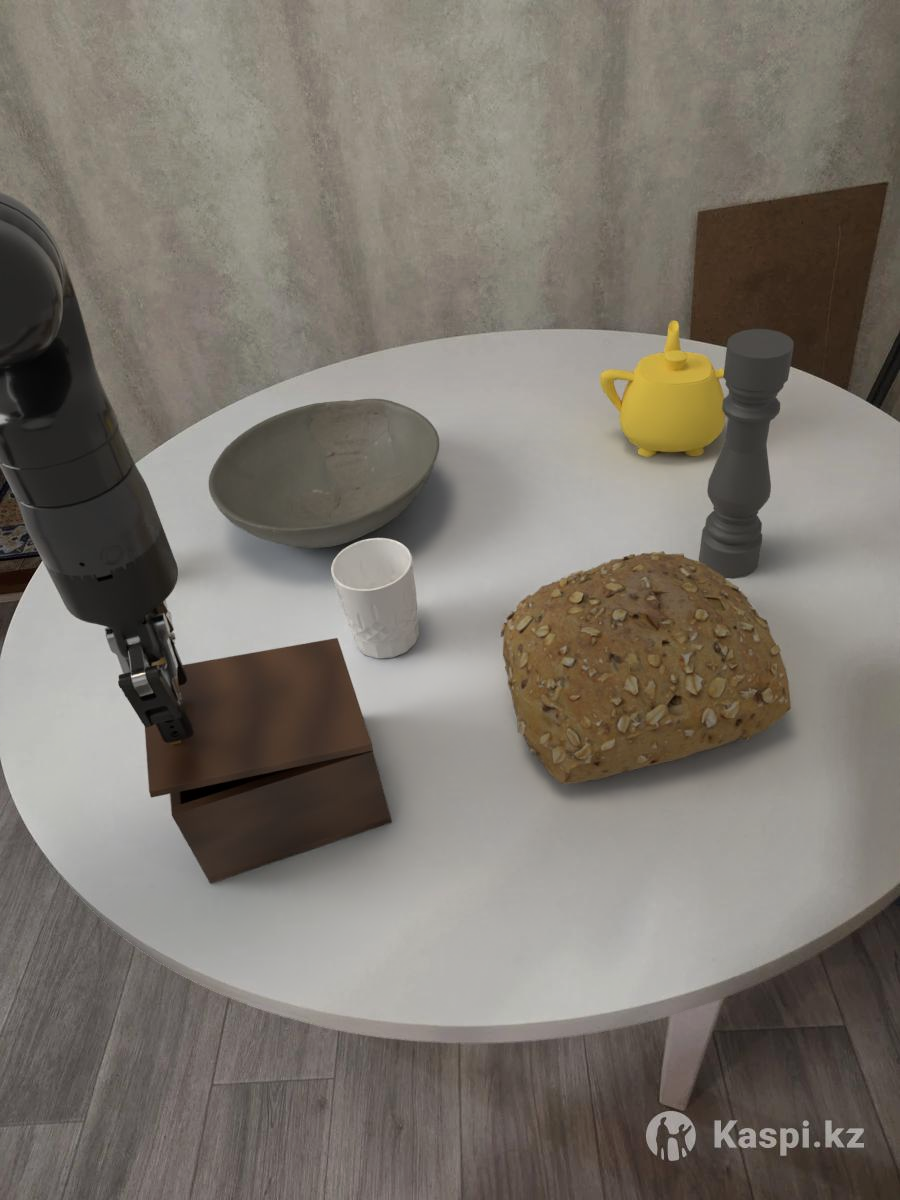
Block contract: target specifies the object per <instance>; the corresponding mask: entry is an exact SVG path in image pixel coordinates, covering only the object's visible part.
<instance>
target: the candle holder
mask: <svg viewBox="0 0 900 1200" xmlns="http://www.w3.org/2000/svg"><path fill="white" fill-rule="evenodd" d="M794 343H795V341H794V340H793V339H792V338H791V337H790V336H789V335H788V334H785V333H783V332H781V331H778V330H773V329H768V328H767V329H766V328H751V329H744V330H741V331H739V332H736V333H733V334H732V335H731V336H730V337H729V338H728V339H727V343H726V351H725V360H724V375H723V377H724V378H723V379H724V380H725V386H726V388H727V390H728V394H729V395H728V394H727V395H726V397H724V400H723V405H722V411H723V412H724V414H725V417H727V425H726V431H725V439H724V442H723V444H722V447H721V449H720V451H719V455H718V456H717V459H716V462H715V464H714V466H713V469H712V471H711V474H710V475H709V478H708V481H707V482H708V483H707V490H706V493H707V496H708V499H709V500H710V502H711V504H712V506H713V509H712V511H711V512H710V513H709V515H708V516H706V518H705V524H704V527H703V528H702V531H701V538H700V546H699V555H698V561H699V562H701V563H703V564H705V565H707V566H708V567H709V568H711V569H713V570H714V571H716V572H717V573H719V574H721V575H723V576H724V578H725V579H736V578H738V579H739V578H743V577H746V576H748V575H750V574H753V573H754V571H755V570H757V568H758V566H759V561H760V555H761V549H762V544H763V533H762V530H763V529H762V528H763V523H762V521H761V519H760V517H759V516H758V514H759V511H760V510H761V509H762V508H763V507H764V505H766V504H767V502H768V501H769V499H770V497H771V492H772V491H771V489H772V482H771V473H770V465H769V463H770V462H769V455H768V454H769V453H768V446H767V445H768V444H767V443H768V437H769V431H770V424H771V421H772V420H775V418H776V417H777V416H778V415H779V414H780V411H781V401H780V400H779V399H778V398H777V396H778V394H779V393H780V392H781V391H782V390H783V388H784V385H785V384H786V383H787V382H788V381H789V376H790V370H791V364H792V359H793V354H794Z"/></svg>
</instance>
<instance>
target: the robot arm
mask: <svg viewBox="0 0 900 1200" xmlns="http://www.w3.org/2000/svg"><path fill="white" fill-rule="evenodd" d="M71 277H72V276H71V274H70V272H69V269H68V266H67V263H66V261H65V257H64V255H63V252H62V250H61V247H60V246H59V244H58V241H57V239H56V238H55V237H54V234H53V233H52V231H51V230H50V228H49V227H48V225H47V224H46V223H45V222H44V221H43V220H42V218H41V217H40V216H39V215H38V214H37V213H36V212H34V211H33V209H31V208H30V207H29V206H27V205H26V204H25V203H23V202H22V201H20V200H19V199H17V198H15V197H13V196H11V195H9V194H7V193H5V192H2V191H0V470H1V472H2V474H3V475H4V477H5V480H6V481H7V483H8V485H9V487H10V489H11V492H12V494H13V495H14V498H15V500H16V502H17V505H18V507H19V511H20V514H21V518H22V521H23V523H24V526H25V529H26V531H27V534H28V535H29V537H30V539H31V541H32V543H33V545H34V547H35V549H36V551H37V552H38V554H39V557H40V559H41V561H42V563H43V565H44V567H45V569H46V570H47V574H49V576H50V578H51V580H52V583H53V585H54V587H55V588H56V590H57V592H58V594H59V596H60V598H61V600H62V602H63V604H64V606H65V608H66V610H67V611H68V612H69V614H71V615H72V616H73V617H75V618H76V619H78V620H80V621H82V622H85V623H89V624H93V625H99V626H103V627H105V628H104V633H105V638H106V641H107V643H108V646H109V650H110V651H111V652H112V653H113V654H115V655H116V657H117V659H118V660H117V661H118V663H119V665H120V668H121V671H122V673H121V674H119V675H118V681H117V684H118V687H119V689H120V690H121V691H122V693H123V694H124V696H125V697H126V699H127V701H128V702H129V704H130V706H131V707H132V709H133V710H134V712H135V714H136V715H137V717H138V718H139V720H140V722H141V724H142V725H143V726H144V728H145V727H150V726H153V725H155V724H156V726H157V728H158V730H159V732H160V734H161V736H162V739H163V741H164V742H166V743H172V742H175V741H179V740H182V739H186V738H189V737H191V736H192V735H193V725H192V723H191V720H190V718H189V716H188V713H187V711H186V709H185V706H184V704H183V702H182V700H183V698H182V694H181V693H179V690H178V687H177V684H176V681H175V677H176V675H178V684H179V686H180V685H183V684H185V683H186V682H187V676H186V672H185V669H184V667H183V665H184V664H183V662H182V660H181V658H180V655H179V653H178V650H177V648H176V640H177V638H176V634H175V632H174V630H175V629H174V623H173V617H172V614H171V611H169V609H168V604H167V601H166V600H167V599H168V598H169V596H170V595H171V594H172V592H173V591H174V589H175V587H176V586H177V582H178V579H179V567H178V564H177V562H176V559H175V556H174V553H173V550H172V548H171V546H170V542H169V540H168V537H167V535H166V533H165V529H164V526H163V524H162V521H161V519H160V516H159V514H158V510H157V508H156V506H155V503H154V500H153V498H152V495H151V492H150V490H149V487H148V485H147V483H146V481H145V479H144V476H142V474H141V472H140V470H139V469H138V467H137V464H136V463H135V460H134V459H133V458H134V457H132V454H131V451H130V449H129V446H128V443H127V441H126V438H125V435H124V433H123V430H122V427H121V425H120V422H119V419H118V416H117V414H116V412H115V410H114V408H113V405H112V402H111V401H110V399H109V396H108V395H107V392H106V390H105V388H104V385H103V383H102V381H101V377H100V376H99V373H98V370H97V368H96V363H95V359H94V356H93V352H92V347H91V344H90V340H89V336H88V333H87V327H86V325H85V321H84V318H83V314H82V310H81V307H80V303H79V300H78V297H77V293H76V291H75V287H74V284H73V281H72V278H71ZM162 657H165V660H166V662H165V663H164V664H161V665H154V666H152V663H153V662H157V661H159V660H160V659H161V658H162Z"/></svg>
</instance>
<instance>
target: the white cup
mask: <svg viewBox="0 0 900 1200" xmlns="http://www.w3.org/2000/svg"><path fill="white" fill-rule="evenodd" d="M330 570H331V571H330V572H331V576H332V580H333V582H334V586H335V589H336V591H337V595H338V598H339V601H340V603H341V607H342V610H343V613H344V616H345V619H346V621H347V623H348V626H349V628H350V629H351V630H350V631H351V632H352V635H353V639H354V641H355V645H356V648H357V649H358V650H359V651H360V652H362V653H363V655H365V656H367V657H371V658H375V659H378V660H382V659H392V658H395V657H398V656H401V655H403V654H406V653H407V652H408V651H409V650H410V649H412V648H413V646H414V645H415V644H416V643H417V640H418V639H419V634H420V625H419V619H418V617H419V616H418V610H419V609H418V601H417V600H418V599H417V587H416V580H415V571H414V564H413V556H412V552H411V551H410V549H409V548H408V547H407V546H406V544H405V545H404V543H402V542H400V541H398V540H395V539H392V538H387V537H386V538H385V537H373V538H366V539H362V540H358V541H356V542H353V543H352V544H350V545H348V546H346V547H344V548H343V549H341V551H339V552H338V553H337V555H336V556H335V558H334V559H333V561H332V563H331V566H330Z"/></svg>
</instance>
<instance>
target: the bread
mask: <svg viewBox="0 0 900 1200" xmlns="http://www.w3.org/2000/svg"><path fill="white" fill-rule="evenodd" d="M506 621H507V622H503V624H502V627H501V630H500V638H502V637H503V639H502V642H503V643H502V656H503V660H504V663H505V664H504V665H505V666H504V669H505V671H506V674H507V687H508V689H509V691H510V693H511V698H512V705H513V708H514V712H515V715H516V718H517V722H518V723H517V733H518V734H522V736H523V737H524V739H525V741H526V742H527V744H528V746H529V752H530V754H532V755H536V756H537V758H538V760H539V761H540V762H541V763H542V764H543V766H544V768H545V769H546V770H547V771H548V773H549V774H550V775H551V776H553V778H555V780H557V782H558V783H559V784H579V783H584V782H586V781H589V780H591V781H593V780H601V779H604V778H608V777H610V776H615V775H619V774H622V773H625V772H629V771H630V772H631V771H634V770H639V769H642V768H646V767H651V766H654V765H659V764H663V763H667V762H672V761H677V760H680V759H683V758H686V757H688V756H691V755H694V754H696V753H700V752H704V751H707V750H710V749H715V748H718V747H721V746H725V745H727V744H728V743H731V742H733V741H740V740H741V739H744V740H745V741H747V740H749V739H750V738H751V737H752V736H753V735H756V734H758V733H761V732H763V731H765V730H767V729H769V728H770V727H771V726H773V725H775V724H776V723H777V722H779V721H780V720H781V719H782V718H783V717H785V715H786V714H787V713H788V712H789V711H790V710H791V709H792V707H791V706H792V705H791V697H790V683H789V678H788V674H787V670H786V667H785V664H784V661H783V658H782V655H781V648H780V645H779V644H776V642H775V639H774V637H773V636H772V634H771V629H770V626H769V623H768V620H767V619H765V618H763V617H761V616H760V615H759V613H758V612H757V609H756V608H754V607H753V605H752V604H751V603H750V602H749V601H748V597H747V596H746V595H745V594H744V592H743V591H742V590H740V588H739V586H737V585H735V584H734V583H732V582H730V580H728V579H727V578H726V577H724V576H723V575H721V574H719V573H717V572H716V571H714V570H713V569H711V568H709V567H708V566H707V565H705V564H703V563H701V562H700V561H699V560H694V559H692V558H688V557H685V554H684V552H683V553H665V552H664V550H661V551H659V552H656V551H651V552H650V553H646V552H643V553H641V554H634V553H633V554H631V553H630V554H629V555H626V556H623V557H622V558H615V559H613V558H612V559H610V561H609V562H607V561H605V562H602V563H601V564H599V565H597V566H596V567H592V568H589V569H588V570H579V571H576V572H571V573H570V574H569V575H568V576H566V577H561V578H560V580H557V581H553V582H551V583H549V584H546V585H541V586H540V588H539V589H538V590H537V591H535V592H534V593H533V594H528V595H526V597H524V598H523V599H522V600H521V601H520V602H519V603H518V605H516V610H515V611H512V610H511V611H510V613H509V614H508V616H507V617H506Z"/></svg>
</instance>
